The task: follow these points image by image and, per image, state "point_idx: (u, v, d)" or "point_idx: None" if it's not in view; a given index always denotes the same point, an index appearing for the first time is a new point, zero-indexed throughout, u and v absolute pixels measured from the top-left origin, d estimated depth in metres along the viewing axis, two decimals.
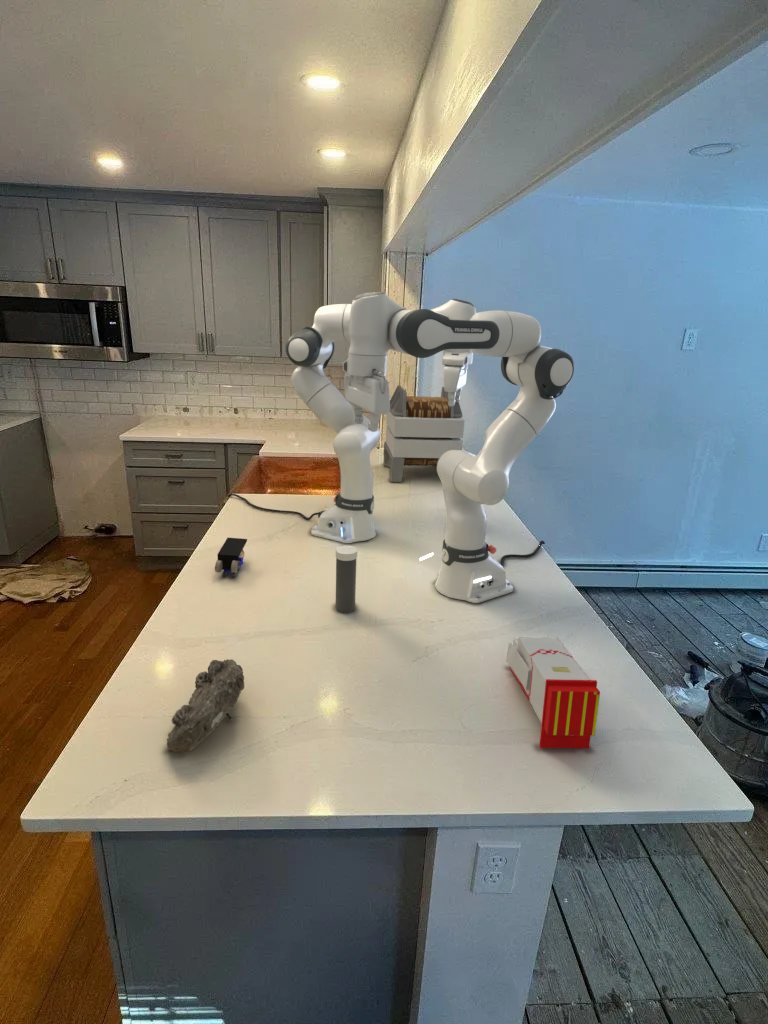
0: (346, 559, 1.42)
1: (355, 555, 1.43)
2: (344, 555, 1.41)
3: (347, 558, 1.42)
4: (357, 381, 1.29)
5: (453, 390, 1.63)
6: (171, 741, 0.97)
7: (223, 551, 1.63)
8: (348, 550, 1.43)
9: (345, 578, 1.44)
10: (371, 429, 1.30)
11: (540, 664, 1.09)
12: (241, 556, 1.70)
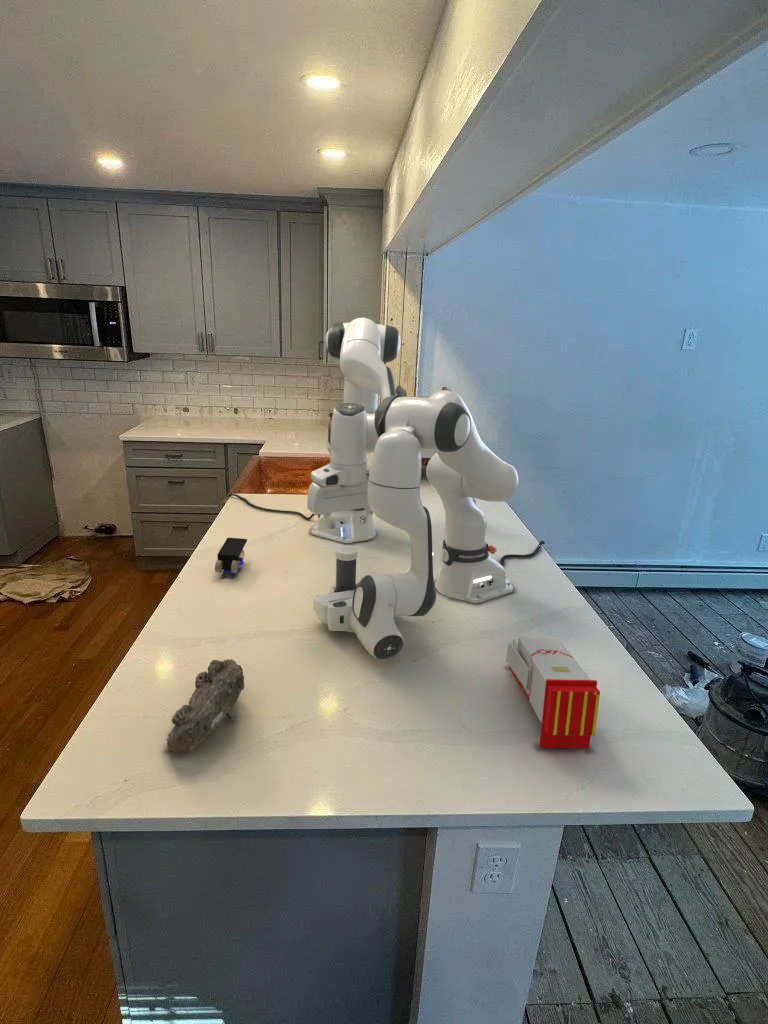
0: (346, 559, 1.42)
1: (355, 555, 1.43)
2: (344, 555, 1.41)
3: (347, 558, 1.42)
4: None
5: (312, 512, 1.34)
6: (171, 741, 0.97)
7: (223, 551, 1.63)
8: (348, 550, 1.43)
9: (345, 578, 1.44)
10: None
11: (540, 664, 1.09)
12: (241, 556, 1.70)
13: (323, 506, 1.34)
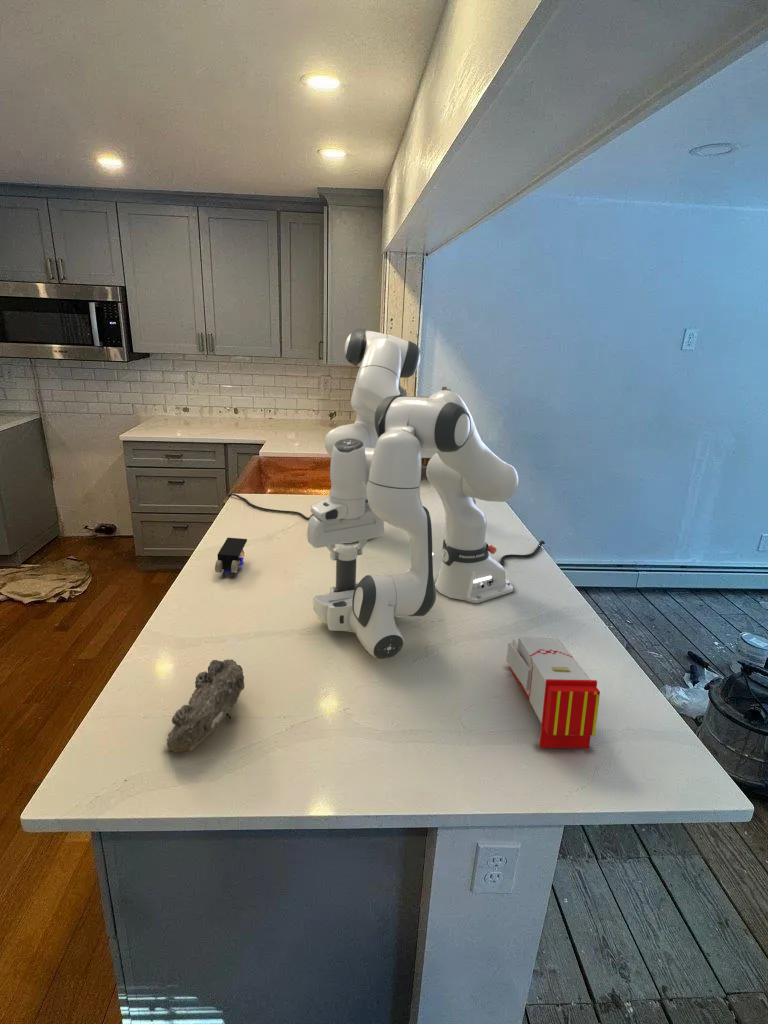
0: (346, 559, 1.42)
1: (355, 555, 1.43)
2: (344, 555, 1.41)
3: (347, 558, 1.42)
4: None
5: (312, 545, 1.37)
6: (171, 741, 0.97)
7: (223, 551, 1.63)
8: (348, 550, 1.43)
9: (345, 578, 1.44)
10: None
11: (540, 664, 1.09)
12: (241, 556, 1.70)
13: (323, 539, 1.37)
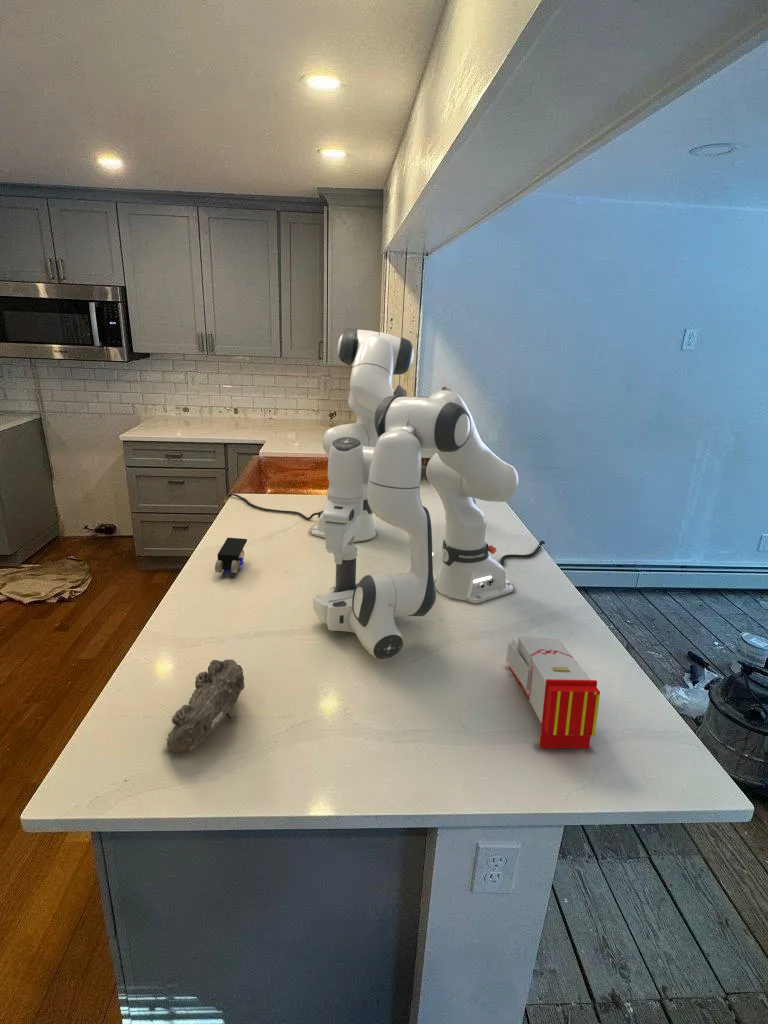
0: (356, 555, 1.44)
1: None
2: (356, 552, 1.43)
3: (356, 554, 1.44)
4: None
5: (337, 552, 1.33)
6: (171, 741, 0.97)
7: (223, 551, 1.63)
8: (348, 548, 1.44)
9: (345, 578, 1.44)
10: None
11: (540, 664, 1.09)
12: (241, 556, 1.70)
13: (343, 543, 1.35)
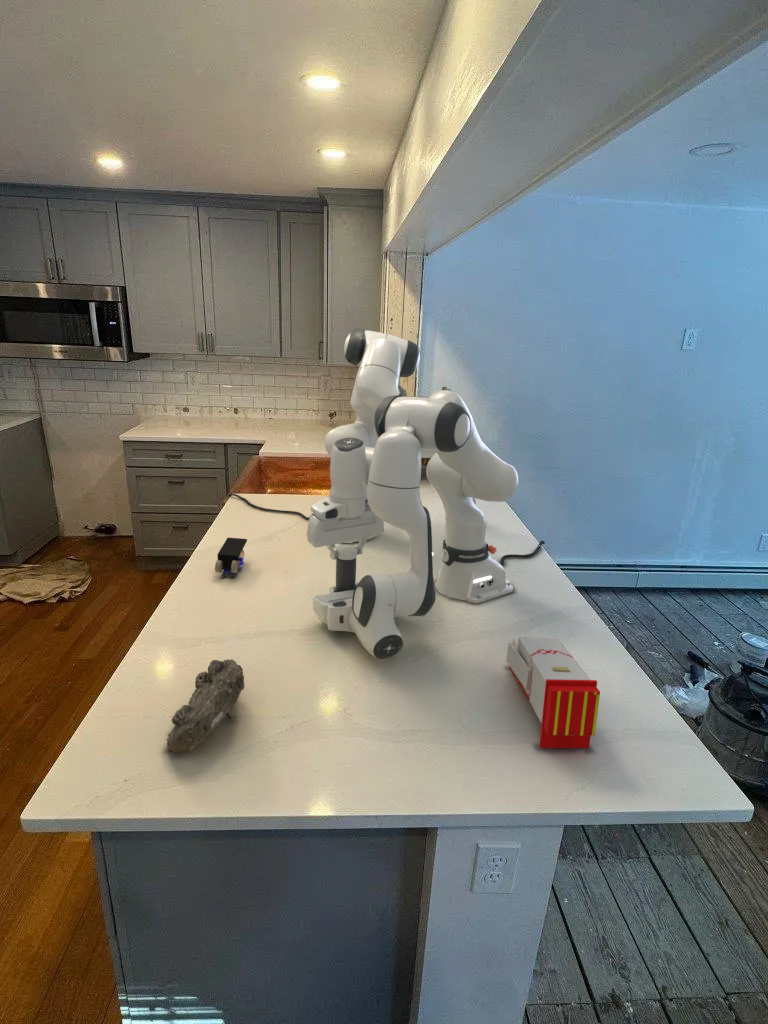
0: (356, 555, 1.44)
1: None
2: (356, 552, 1.43)
3: None
4: None
5: (312, 545, 1.37)
6: (171, 741, 0.97)
7: (223, 551, 1.63)
8: (349, 548, 1.44)
9: (345, 578, 1.44)
10: None
11: (540, 664, 1.09)
12: (241, 556, 1.70)
13: (323, 539, 1.37)
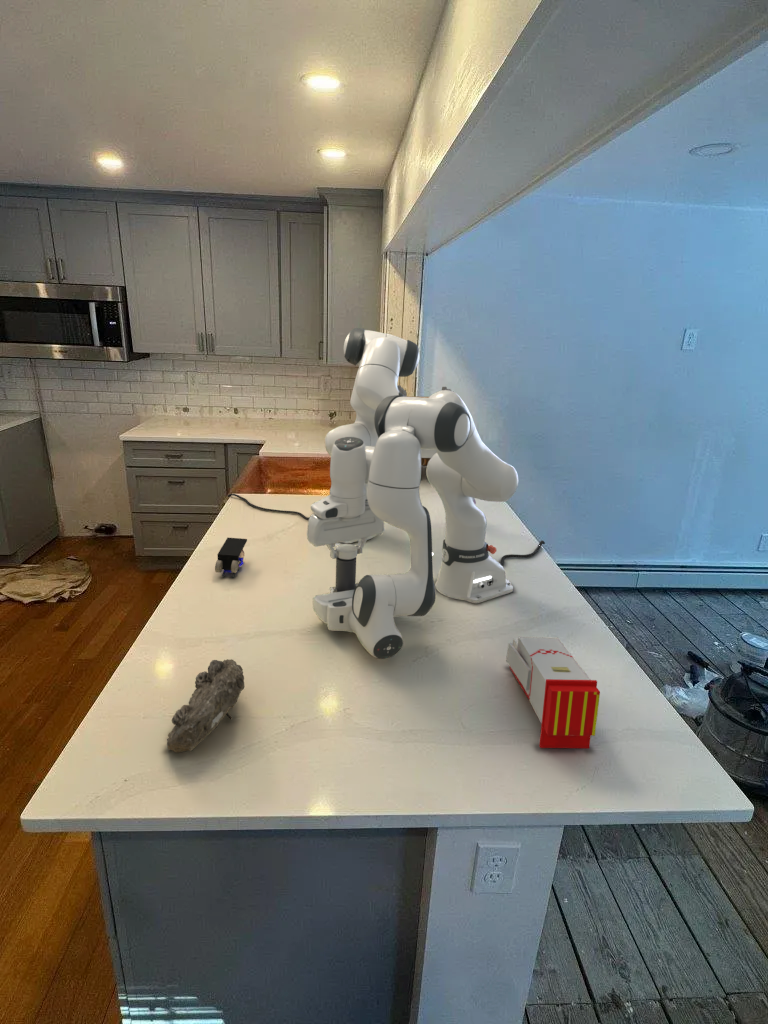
0: None
1: None
2: None
3: None
4: None
5: (312, 544, 1.37)
6: (171, 741, 0.97)
7: (223, 551, 1.63)
8: (346, 546, 1.44)
9: (344, 578, 1.44)
10: None
11: (540, 664, 1.09)
12: (241, 556, 1.70)
13: (323, 538, 1.37)
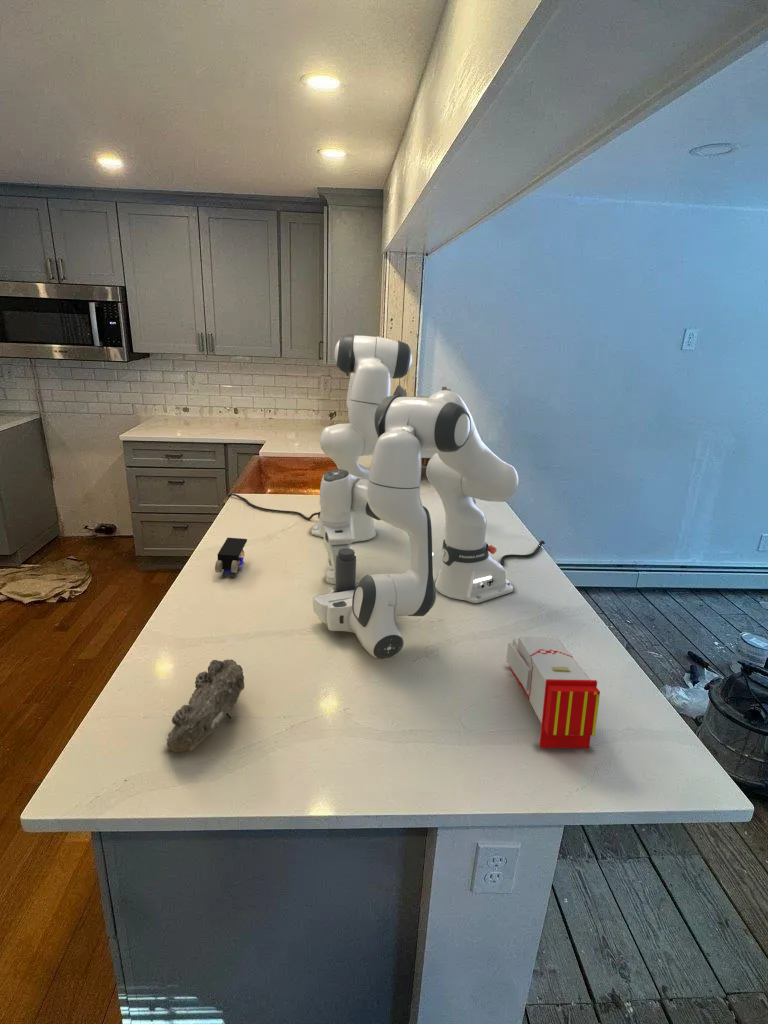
0: None
1: (326, 577, 1.64)
2: None
3: None
4: None
5: None
6: (171, 741, 0.97)
7: (223, 551, 1.63)
8: (333, 573, 1.64)
9: (344, 578, 1.44)
10: None
11: (540, 664, 1.09)
12: (241, 556, 1.70)
13: None
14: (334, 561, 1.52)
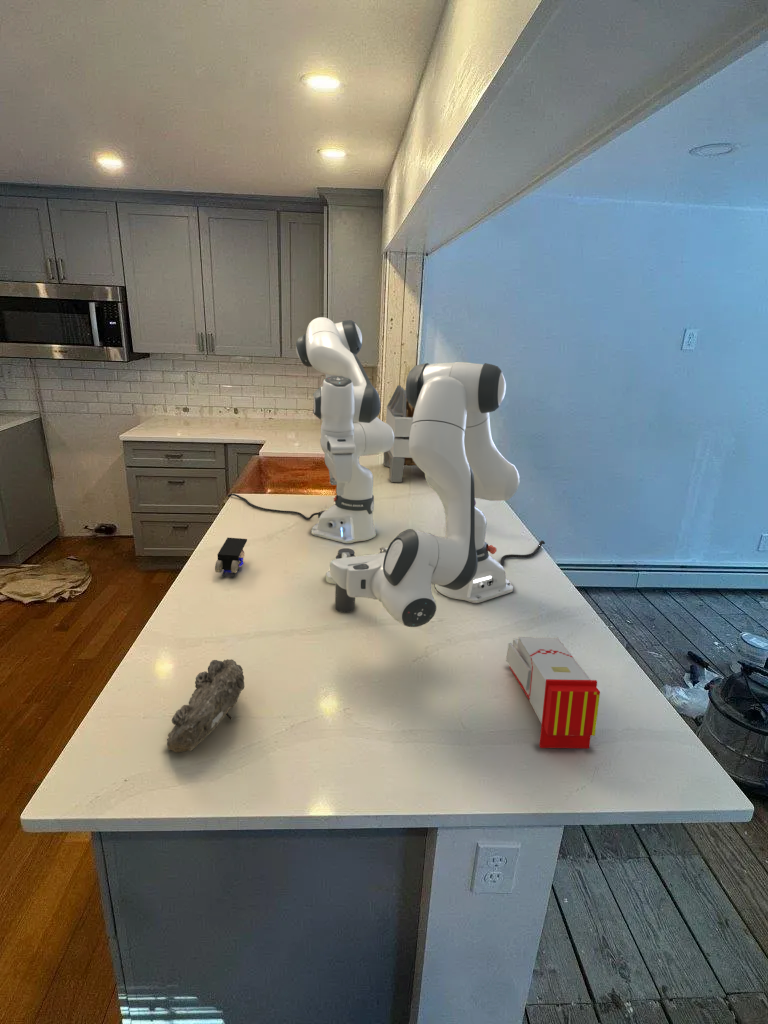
0: None
1: (326, 577, 1.64)
2: None
3: None
4: None
5: (347, 481, 1.45)
6: (171, 741, 0.97)
7: (223, 551, 1.63)
8: None
9: None
10: None
11: (540, 664, 1.09)
12: (241, 556, 1.70)
13: None
14: (337, 471, 1.43)
